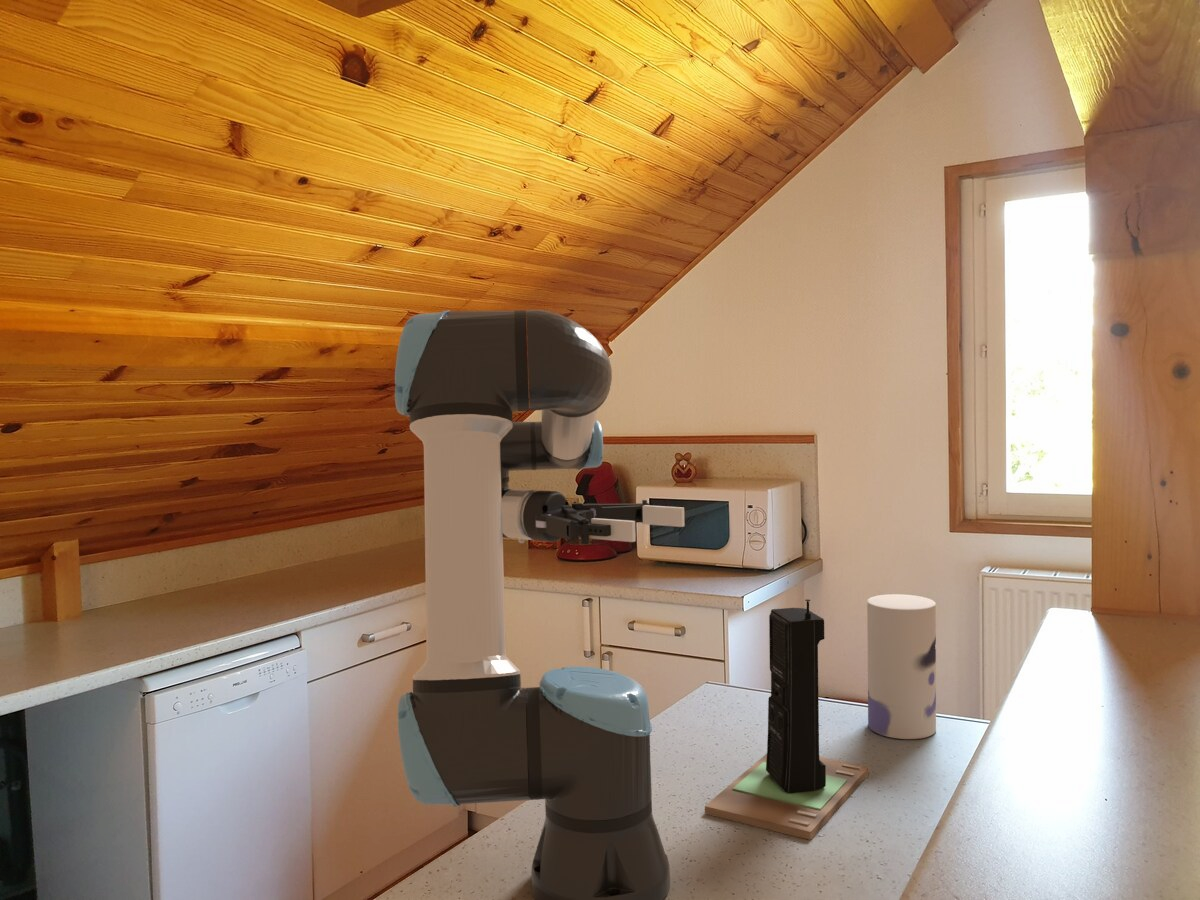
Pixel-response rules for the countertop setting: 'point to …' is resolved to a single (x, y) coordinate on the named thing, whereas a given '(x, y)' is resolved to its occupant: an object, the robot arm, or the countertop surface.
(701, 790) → the countertop surface
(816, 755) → the portable radio
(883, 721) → the container
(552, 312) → the robot arm
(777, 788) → the board
